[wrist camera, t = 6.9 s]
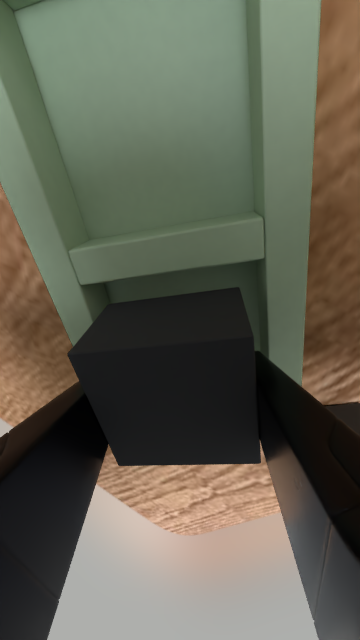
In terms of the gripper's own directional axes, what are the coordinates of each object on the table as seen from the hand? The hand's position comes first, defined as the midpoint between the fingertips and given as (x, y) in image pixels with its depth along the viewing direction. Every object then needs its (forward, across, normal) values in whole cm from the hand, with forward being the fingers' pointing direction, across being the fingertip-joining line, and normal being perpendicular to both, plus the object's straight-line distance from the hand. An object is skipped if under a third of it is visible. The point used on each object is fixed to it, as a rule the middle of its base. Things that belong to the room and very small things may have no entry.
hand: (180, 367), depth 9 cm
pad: (+1, 0, 0) cm, 1 cm away
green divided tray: (+3, 0, -4) cm, 5 cm away
